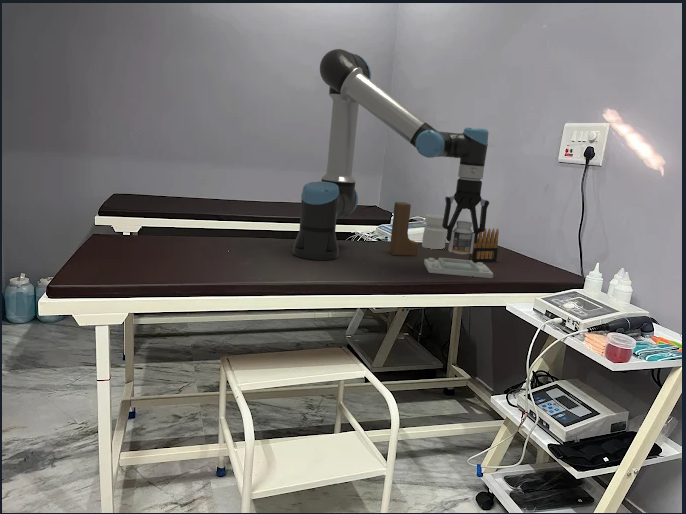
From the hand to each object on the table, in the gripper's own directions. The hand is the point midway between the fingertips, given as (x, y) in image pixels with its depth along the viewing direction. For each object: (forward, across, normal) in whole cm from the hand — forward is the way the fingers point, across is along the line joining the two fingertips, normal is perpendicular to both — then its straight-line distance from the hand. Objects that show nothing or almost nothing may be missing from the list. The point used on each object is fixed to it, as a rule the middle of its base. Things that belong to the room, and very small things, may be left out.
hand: (460, 251), depth 177 cm
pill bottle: (0, 0, 0) cm, 0 cm away
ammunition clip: (+6, +12, +17) cm, 22 cm away
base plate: (+6, 0, 0) cm, 6 cm away
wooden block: (+6, -16, +17) cm, 24 cm away
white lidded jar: (+6, -3, +34) cm, 35 cm away
